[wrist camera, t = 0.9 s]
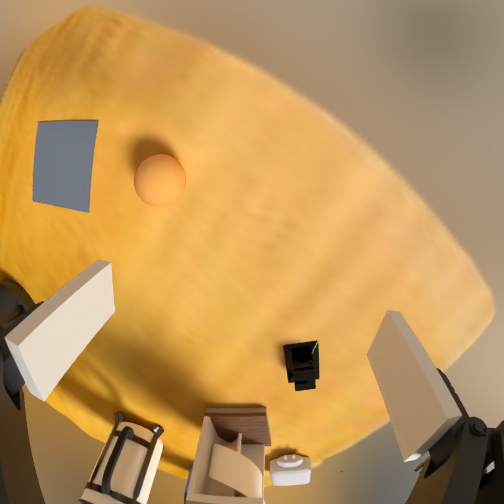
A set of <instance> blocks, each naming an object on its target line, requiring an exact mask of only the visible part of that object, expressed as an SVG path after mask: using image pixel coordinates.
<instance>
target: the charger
mask: <svg viewBox="0 0 504 504" xmlns="http://www.w3.org/2000/svg"><path fill="white" fill-rule="evenodd" d="M310 473H311V463H310V458H309V457H301V456H299V455H295V454H293V455H284V456H281V457H279V458H277V459H273V460H271V461H270V475H271V479H272V483H273V485H275V486H285V485H298V484H306V483H308V482H309V481H310Z"/></svg>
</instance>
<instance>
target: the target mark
mask: <svg viewBox="0 0 504 504" xmlns="http://www.w3.org/2000/svg"><path fill="white" fill-rule="evenodd" d="M97 126H98V121H50V122H38V128H37V136H36V144H35V155H34V168H33V201H34V202H39V203H44V204H49V205H54V206H59V207H64V208H69V209H74V210H78V211H83V212H89V202H90V185H91V173H92V163H93V154H94V146H95V139H96V133H97Z"/></svg>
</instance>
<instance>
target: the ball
mask: <svg viewBox="0 0 504 504" xmlns="http://www.w3.org/2000/svg"><path fill="white" fill-rule="evenodd" d="M185 183H186V176H185V171H184V169H183V167H182V165H181V164H180V162H179V161H178V160H176V159H175V158H173V157H171V156H169V155H164V154H157V155H153V156H151V157H149V158H147V159H145V160H144V161H143V162H142V163H141V164H140V165H139V167H138V169H137V171H136V173H135V178H134V185H135V190H136V192H137V194H138V196H139V197H140V198H141V199H142V200H143V201H144V202H145V203H147V204H149V205H152V206H166V205H169V204H171V203H173V202H174V201H175V200H176V199H178V198H179V196H180V195H181V194H182V192H183V190H184V187H185Z"/></svg>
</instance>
